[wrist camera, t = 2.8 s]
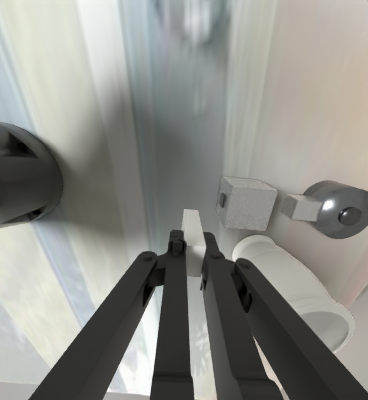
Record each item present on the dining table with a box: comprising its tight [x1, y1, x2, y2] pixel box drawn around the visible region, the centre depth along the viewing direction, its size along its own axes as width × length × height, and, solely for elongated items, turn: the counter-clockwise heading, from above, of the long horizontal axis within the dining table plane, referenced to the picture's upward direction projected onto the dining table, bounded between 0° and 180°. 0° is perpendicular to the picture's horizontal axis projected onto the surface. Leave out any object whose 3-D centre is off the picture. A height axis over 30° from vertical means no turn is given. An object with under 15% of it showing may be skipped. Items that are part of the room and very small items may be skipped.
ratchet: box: [280, 181, 368, 239], centre depth 27 cm, size 22×8×6 cm, turn 84°
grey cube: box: [216, 176, 278, 231], centre depth 26 cm, size 6×6×6 cm
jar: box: [232, 235, 355, 354], centre depth 26 cm, size 11×10×15 cm
